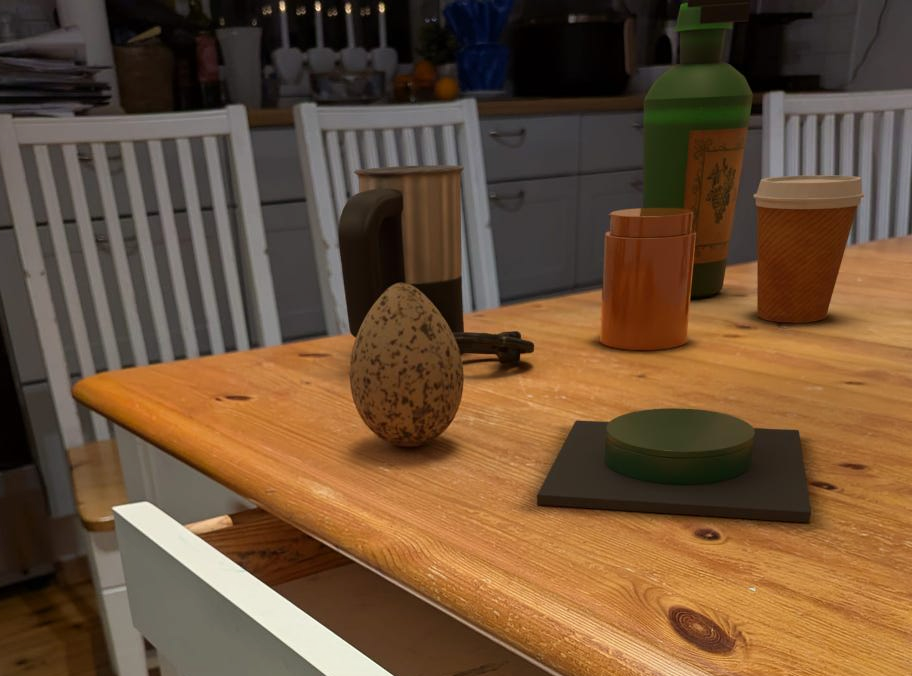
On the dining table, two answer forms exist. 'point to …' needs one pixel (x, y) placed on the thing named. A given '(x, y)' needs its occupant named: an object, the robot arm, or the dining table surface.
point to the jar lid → (679, 446)
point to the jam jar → (647, 278)
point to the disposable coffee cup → (802, 243)
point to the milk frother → (412, 249)
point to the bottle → (698, 143)
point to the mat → (746, 496)
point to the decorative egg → (406, 369)
